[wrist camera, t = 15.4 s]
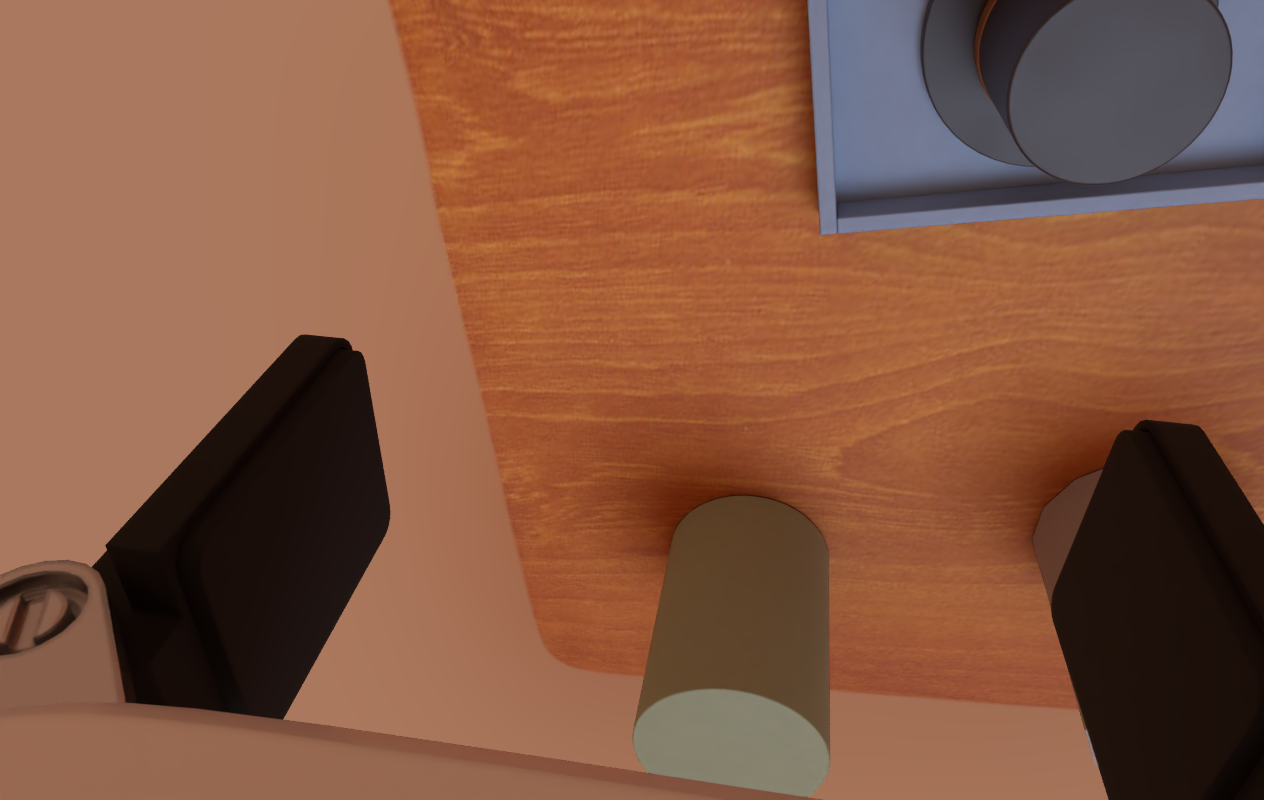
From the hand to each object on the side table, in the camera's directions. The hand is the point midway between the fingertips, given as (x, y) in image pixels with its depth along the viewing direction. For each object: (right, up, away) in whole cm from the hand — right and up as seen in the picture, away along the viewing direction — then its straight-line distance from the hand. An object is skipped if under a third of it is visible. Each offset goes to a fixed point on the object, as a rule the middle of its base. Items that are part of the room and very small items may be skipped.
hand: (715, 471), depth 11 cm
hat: (+12, +12, +17) cm, 24 cm away
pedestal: (+5, -7, +32) cm, 33 cm away
